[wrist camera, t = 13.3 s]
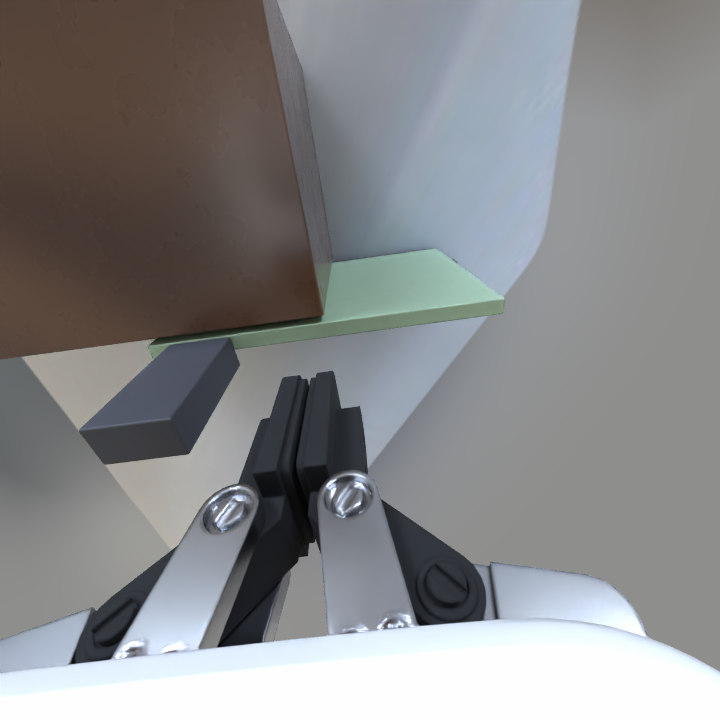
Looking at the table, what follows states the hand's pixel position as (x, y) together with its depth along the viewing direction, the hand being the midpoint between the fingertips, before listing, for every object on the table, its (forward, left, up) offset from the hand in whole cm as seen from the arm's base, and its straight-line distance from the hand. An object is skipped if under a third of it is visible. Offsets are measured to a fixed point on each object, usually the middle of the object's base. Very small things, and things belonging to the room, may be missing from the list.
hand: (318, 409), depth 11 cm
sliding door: (0, 0, -18) cm, 18 cm away
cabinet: (-6, -4, -18) cm, 20 cm away
